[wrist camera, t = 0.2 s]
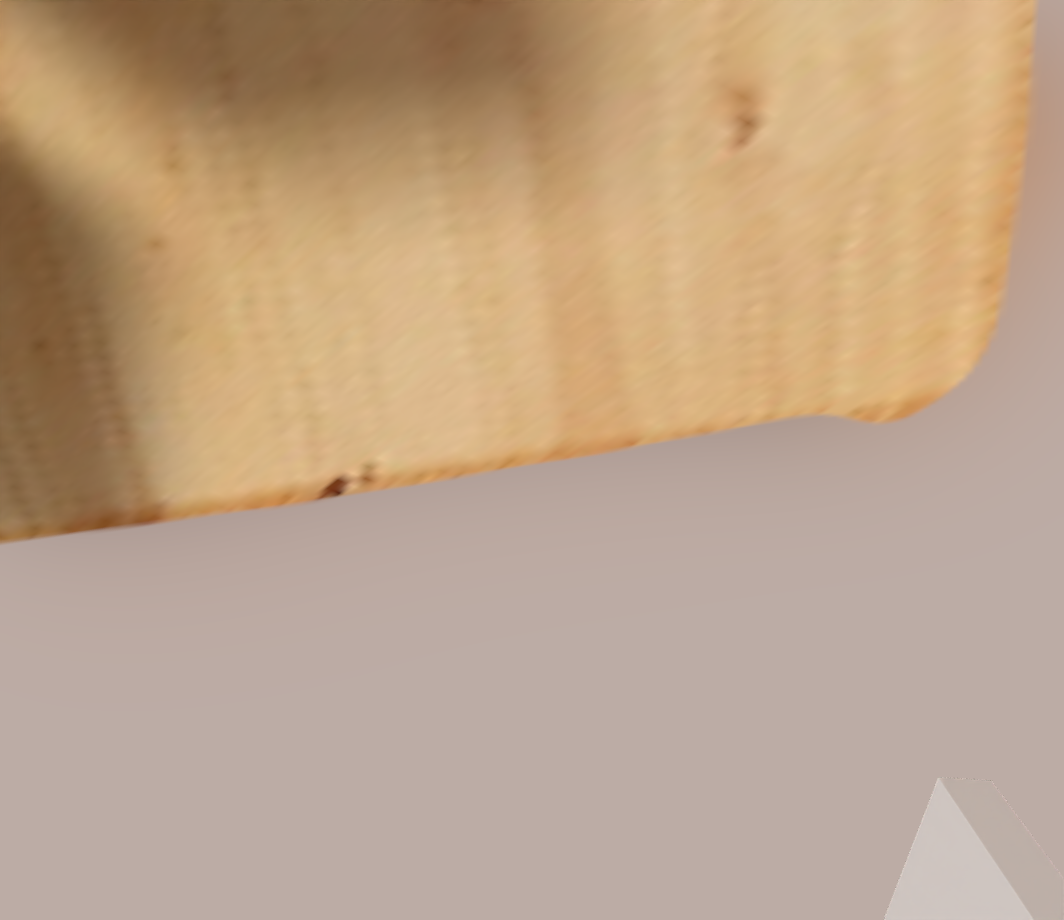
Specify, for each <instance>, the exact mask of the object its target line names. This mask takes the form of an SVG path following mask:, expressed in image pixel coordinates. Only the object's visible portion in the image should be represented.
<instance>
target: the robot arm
mask: <svg viewBox="0 0 1064 920" xmlns="http://www.w3.org/2000/svg"><path fill="white" fill-rule="evenodd" d="M884 920H1064V878H1063V876H1062V875H1061V874H1060V872H1059V871H1058V870H1057V868H1056V867H1055V866H1054V864H1053V863H1052V862H1051V860H1050V859H1049V858H1048V857H1047V855H1046V854H1045V852H1044V851H1043V850H1042V848H1041V847H1040V846H1039V844H1038V843H1037V841H1035V839H1034V838H1033V836H1032V835H1031V834H1030V832H1029V831H1028V829H1027V828H1026V827H1025V825H1024V824H1023V823H1022V822H1021V820H1020V819H1019V817H1018V816H1017V815H1016V813H1015V812H1014V811H1013V809H1012V808H1011V807H1010V805H1009V804H1008V802H1007V801H1006V800H1005V798H1004V797H1003V796H1002V794H1001V793H1000V792H999V790H998V789H997V788H996V787H995V785H994V784H993V782H992V781H991V780H975V779H959V778H942V777H939V778H938V780H937V782H936V785H935V788H934V790H933V793H932V795H931V798H930V801H929V803H928V806H927V808H926V811H925V814H924V816H923V819H922V821H921V824H920V827H919V829H918V832H917V835H916V837H915V840H914V842H913V845H912V847H911V850H910V853H909V855H908V858H907V860H906V863H905V866H904V869H903V871H902V873H901V876H900V879H899V881H898V884H897V886H896V889H895V892H894V894H893V897H892V899H891V902H890V905H889V907H888V910H887V912H886V915H885V918H884Z"/></svg>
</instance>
